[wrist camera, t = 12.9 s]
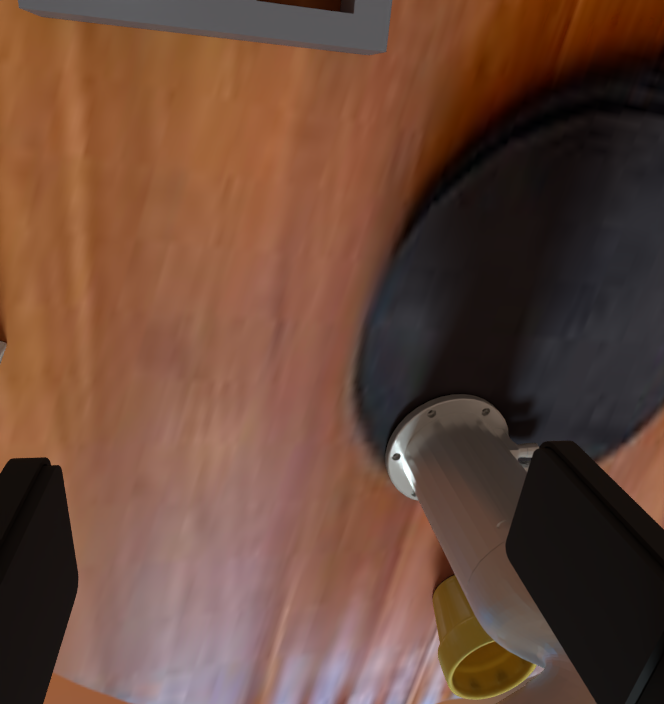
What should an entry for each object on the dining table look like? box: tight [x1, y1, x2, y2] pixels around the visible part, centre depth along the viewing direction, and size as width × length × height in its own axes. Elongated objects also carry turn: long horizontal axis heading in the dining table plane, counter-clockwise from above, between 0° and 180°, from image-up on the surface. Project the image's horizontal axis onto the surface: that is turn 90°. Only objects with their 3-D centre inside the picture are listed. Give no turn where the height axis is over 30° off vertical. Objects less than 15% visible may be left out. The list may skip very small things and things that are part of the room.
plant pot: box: [433, 575, 536, 699], centre depth 59 cm, size 10×10×10 cm
